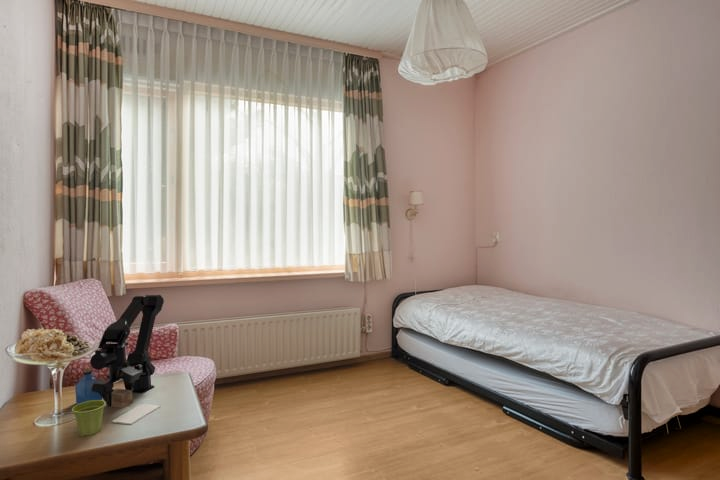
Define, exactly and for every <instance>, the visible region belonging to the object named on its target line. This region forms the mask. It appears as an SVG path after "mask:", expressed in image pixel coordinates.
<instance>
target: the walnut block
mask: <svg viewBox="0 0 720 480" xmlns="http://www.w3.org/2000/svg"><path fill="white" fill-rule="evenodd" d="M113 389H114V391H113V392H112V404H111V407H113V408H119V409H123V408H126V407H128V406H130V405H132V404H133V402H134V401H133V392H132V390H125V388H118V387H117V388H113ZM105 405H106V406H107V404H105Z"/></svg>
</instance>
